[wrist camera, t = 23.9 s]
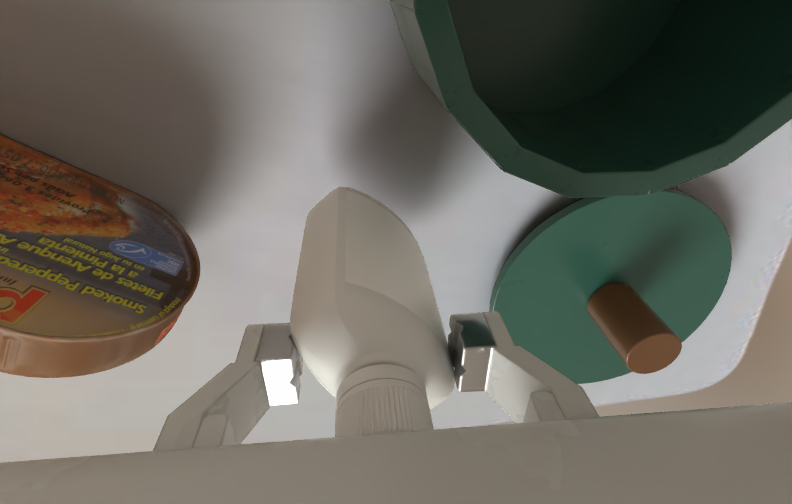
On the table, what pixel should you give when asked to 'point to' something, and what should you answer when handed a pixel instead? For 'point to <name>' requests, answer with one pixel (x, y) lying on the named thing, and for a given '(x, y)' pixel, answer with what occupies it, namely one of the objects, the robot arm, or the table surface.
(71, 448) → the table surface
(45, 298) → the tin
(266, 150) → the table surface
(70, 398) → the table surface
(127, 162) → the table surface
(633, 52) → the pot
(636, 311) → the lid
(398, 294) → the eye dropper bottle
